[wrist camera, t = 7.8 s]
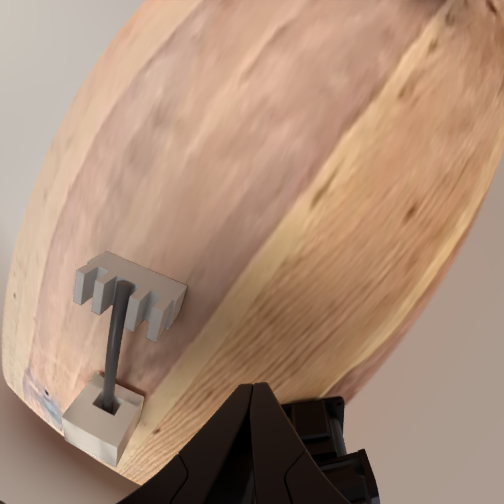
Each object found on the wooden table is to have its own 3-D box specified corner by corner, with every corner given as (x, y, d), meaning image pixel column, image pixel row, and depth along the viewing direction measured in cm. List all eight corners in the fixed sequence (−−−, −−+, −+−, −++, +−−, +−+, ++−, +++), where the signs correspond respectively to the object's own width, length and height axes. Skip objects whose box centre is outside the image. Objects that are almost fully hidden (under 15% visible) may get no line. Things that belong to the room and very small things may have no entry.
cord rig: (107, 251, 21) (70, 270, 16) (187, 285, 21) (165, 315, 16) (91, 404, 25) (72, 432, 21) (147, 431, 26) (132, 463, 21)
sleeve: (96, 373, 23) (61, 416, 16) (144, 397, 23) (117, 447, 17) (94, 398, 24) (65, 440, 17) (139, 420, 24) (116, 467, 18)
